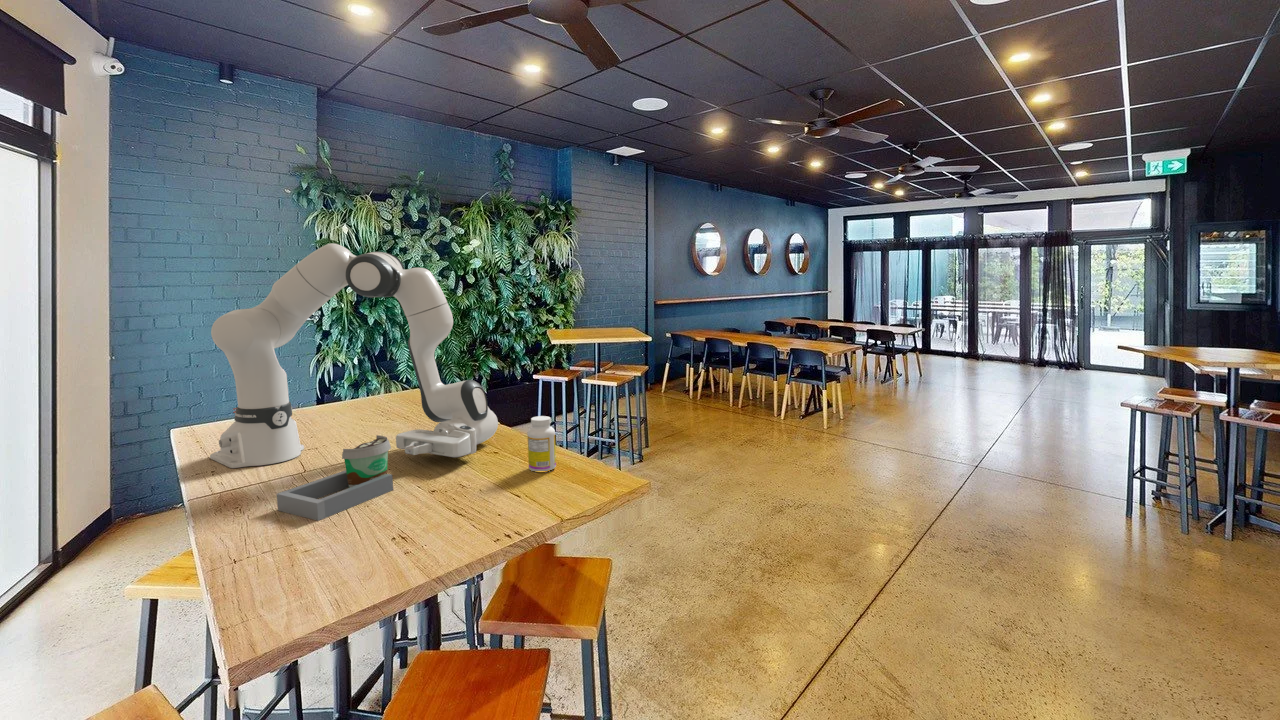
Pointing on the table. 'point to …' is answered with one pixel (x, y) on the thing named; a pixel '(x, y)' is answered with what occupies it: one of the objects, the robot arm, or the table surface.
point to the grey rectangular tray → (307, 495)
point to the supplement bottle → (541, 444)
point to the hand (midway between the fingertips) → (409, 451)
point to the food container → (366, 461)
